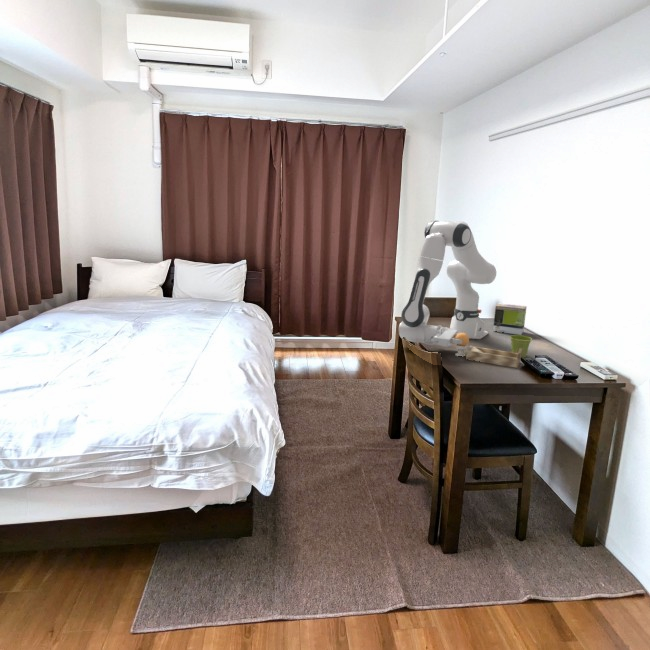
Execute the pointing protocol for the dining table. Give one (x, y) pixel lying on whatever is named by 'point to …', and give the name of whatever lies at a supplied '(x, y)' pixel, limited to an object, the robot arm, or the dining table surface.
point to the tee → (460, 350)
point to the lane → (494, 356)
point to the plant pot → (520, 344)
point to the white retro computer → (509, 318)
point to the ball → (463, 338)
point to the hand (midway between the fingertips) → (464, 339)
